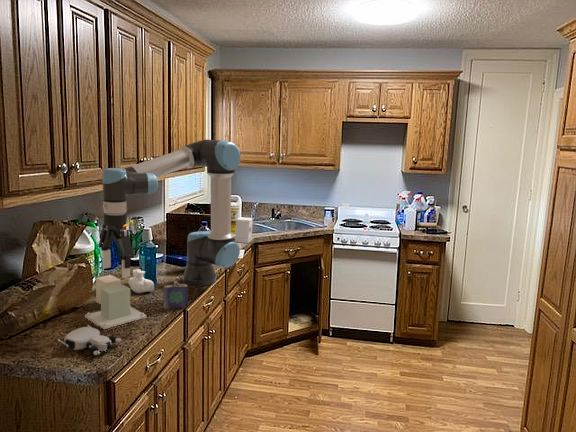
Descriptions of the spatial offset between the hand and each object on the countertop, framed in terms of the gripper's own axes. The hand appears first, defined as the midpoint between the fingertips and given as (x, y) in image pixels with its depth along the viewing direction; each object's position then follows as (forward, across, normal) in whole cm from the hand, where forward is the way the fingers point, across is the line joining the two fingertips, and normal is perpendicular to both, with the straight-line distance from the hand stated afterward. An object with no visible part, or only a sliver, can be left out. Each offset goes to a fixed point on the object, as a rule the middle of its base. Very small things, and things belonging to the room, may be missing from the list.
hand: (116, 272), depth 162 cm
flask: (+18, +5, +22) cm, 28 cm away
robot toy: (+17, +16, -17) cm, 29 cm away
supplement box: (+19, -61, +119) cm, 135 cm away
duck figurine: (+18, -19, +21) cm, 33 cm away
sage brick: (+16, 0, 0) cm, 16 cm away
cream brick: (+17, -15, +5) cm, 23 cm away
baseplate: (+17, 0, 0) cm, 17 cm away
